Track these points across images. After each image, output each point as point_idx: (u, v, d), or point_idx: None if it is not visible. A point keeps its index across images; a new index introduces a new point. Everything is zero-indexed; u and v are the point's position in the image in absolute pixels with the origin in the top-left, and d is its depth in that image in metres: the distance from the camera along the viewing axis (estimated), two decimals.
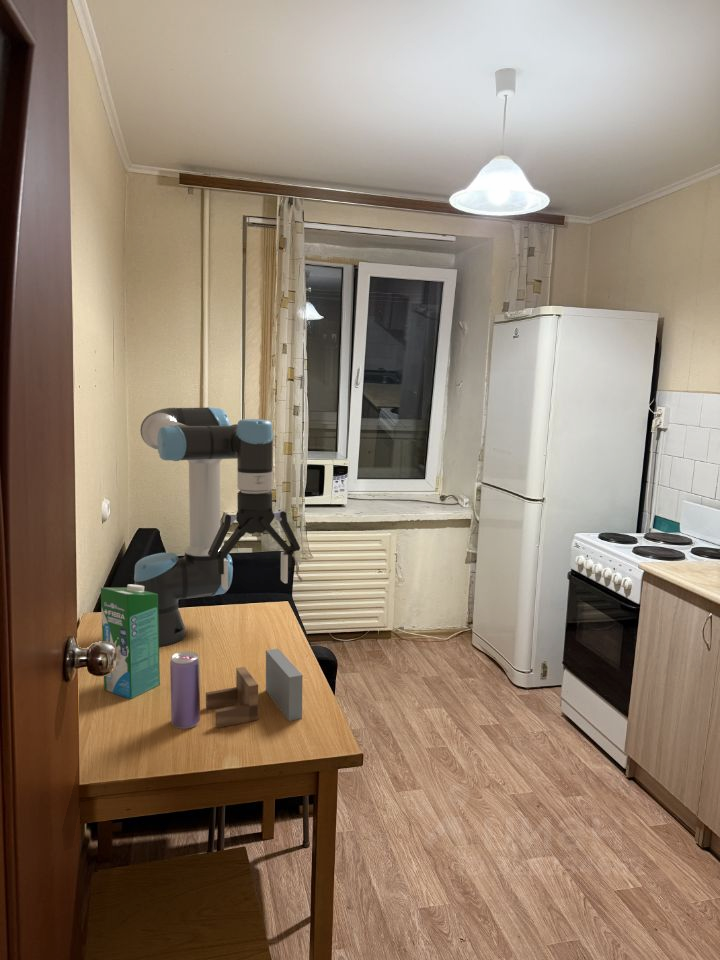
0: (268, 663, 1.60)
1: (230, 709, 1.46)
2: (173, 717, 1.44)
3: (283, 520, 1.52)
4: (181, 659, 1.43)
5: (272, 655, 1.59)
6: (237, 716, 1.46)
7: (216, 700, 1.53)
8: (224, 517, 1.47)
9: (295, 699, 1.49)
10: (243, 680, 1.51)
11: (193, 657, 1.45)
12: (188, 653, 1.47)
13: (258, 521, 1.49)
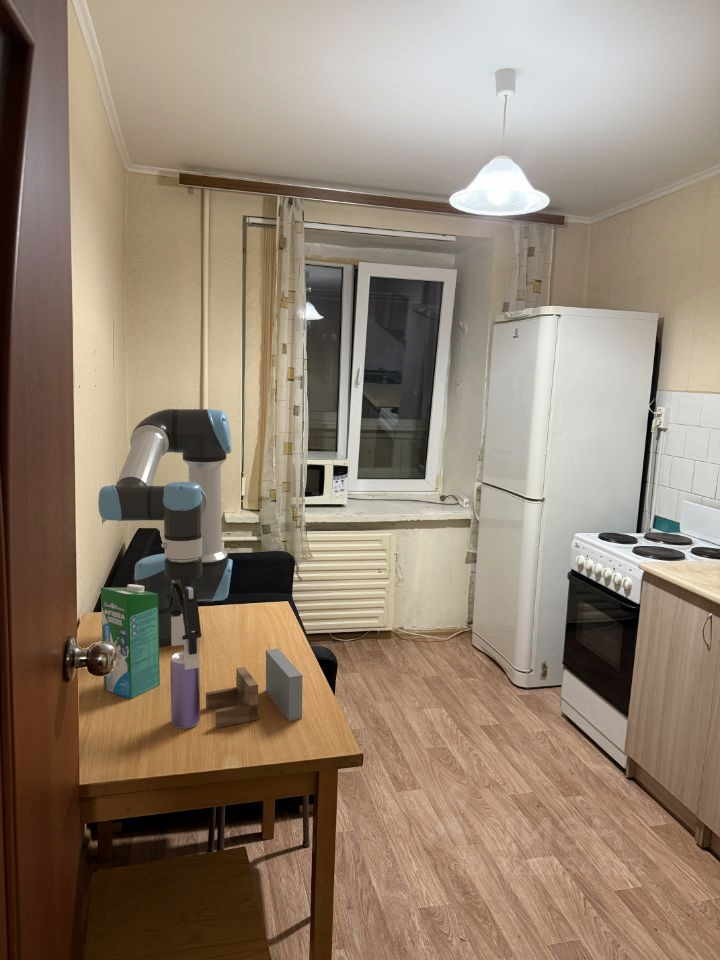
0: (268, 663, 1.60)
1: (230, 709, 1.46)
2: (173, 717, 1.44)
3: (184, 598, 1.36)
4: (181, 659, 1.43)
5: (272, 655, 1.59)
6: (237, 716, 1.46)
7: (216, 700, 1.53)
8: None
9: (295, 699, 1.49)
10: (243, 680, 1.51)
11: None
12: None
13: None
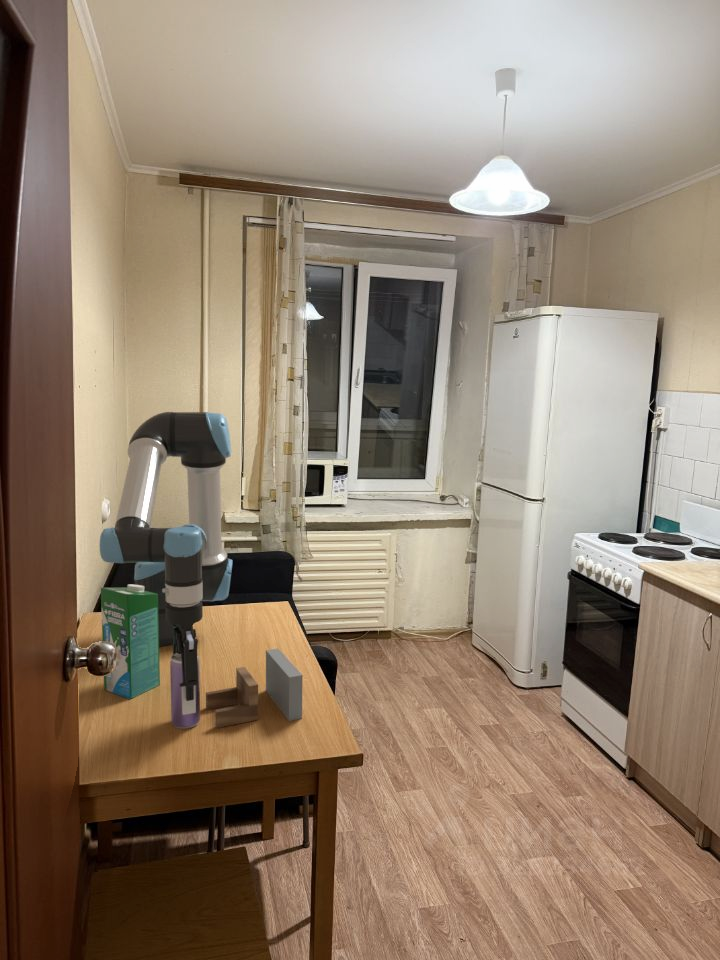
0: (268, 663, 1.60)
1: (230, 709, 1.46)
2: (173, 717, 1.44)
3: (184, 648, 1.39)
4: None
5: (272, 655, 1.59)
6: (237, 716, 1.46)
7: (216, 700, 1.53)
8: None
9: (295, 699, 1.49)
10: (243, 680, 1.51)
11: None
12: None
13: None
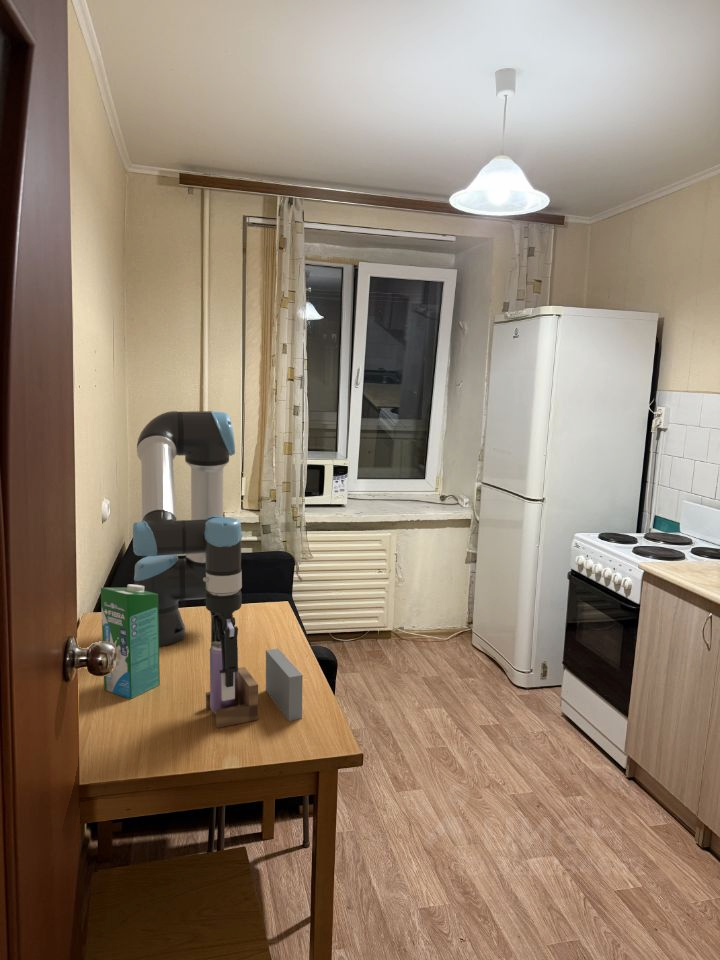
0: (268, 663, 1.60)
1: (230, 709, 1.46)
2: (212, 703, 1.48)
3: (224, 635, 1.42)
4: (220, 646, 1.47)
5: (272, 655, 1.59)
6: (237, 716, 1.46)
7: None
8: None
9: (295, 699, 1.49)
10: (243, 680, 1.51)
11: None
12: None
13: None
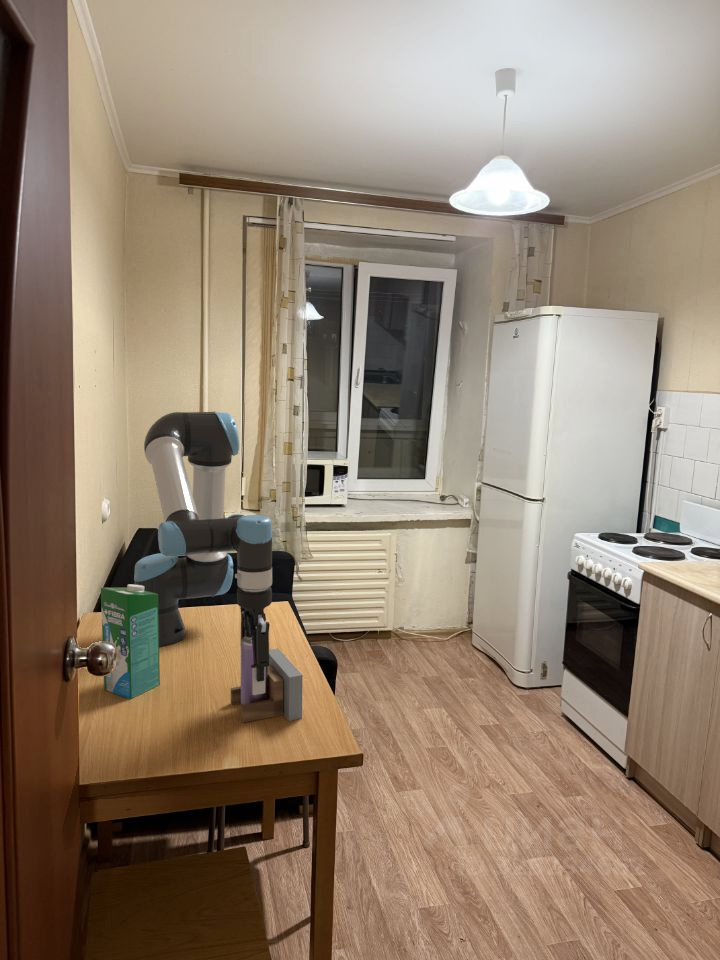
0: None
1: (256, 704, 1.48)
2: (243, 697, 1.51)
3: (256, 631, 1.45)
4: (251, 642, 1.50)
5: (272, 655, 1.59)
6: (262, 711, 1.49)
7: (240, 696, 1.56)
8: None
9: (295, 699, 1.49)
10: (268, 676, 1.53)
11: None
12: None
13: None
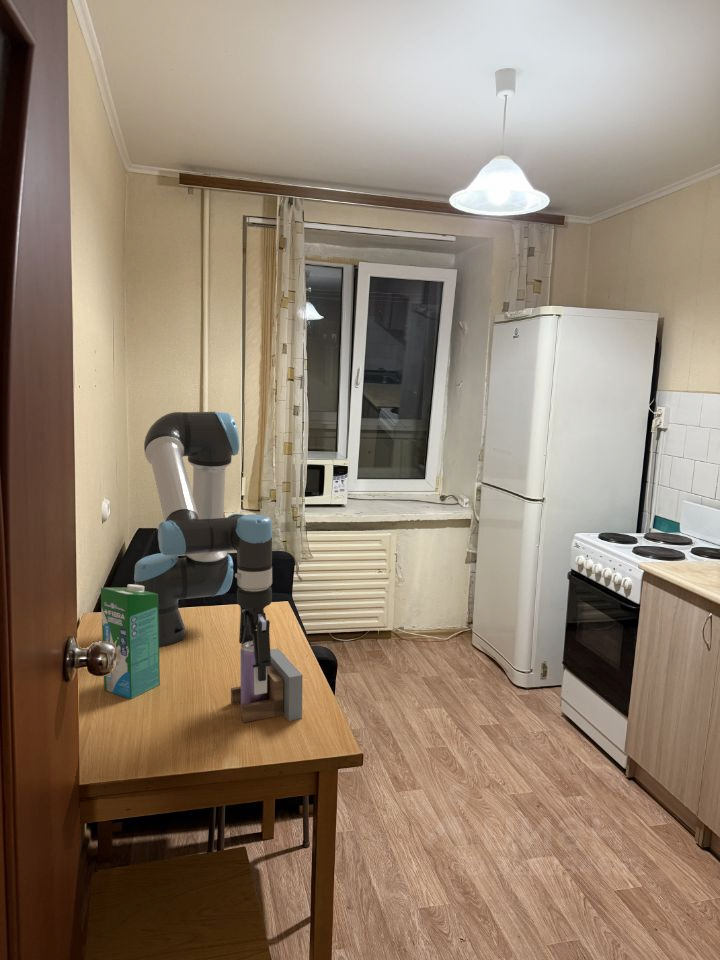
0: None
1: (256, 704, 1.48)
2: (243, 703, 1.51)
3: (257, 629, 1.45)
4: (251, 647, 1.50)
5: (272, 655, 1.59)
6: (263, 711, 1.49)
7: None
8: None
9: (295, 699, 1.49)
10: (268, 676, 1.53)
11: None
12: None
13: None
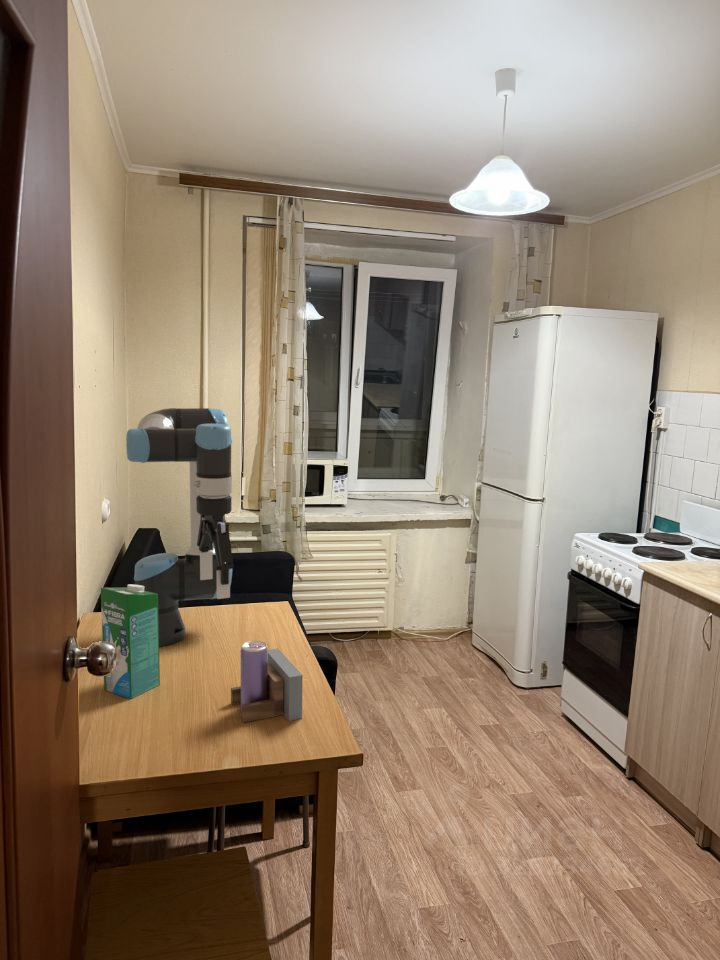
0: None
1: (256, 704, 1.48)
2: (243, 703, 1.51)
3: (216, 532, 1.45)
4: (251, 648, 1.50)
5: (272, 655, 1.59)
6: (263, 711, 1.49)
7: None
8: None
9: (295, 699, 1.49)
10: (268, 676, 1.53)
11: (262, 646, 1.51)
12: (256, 642, 1.53)
13: None
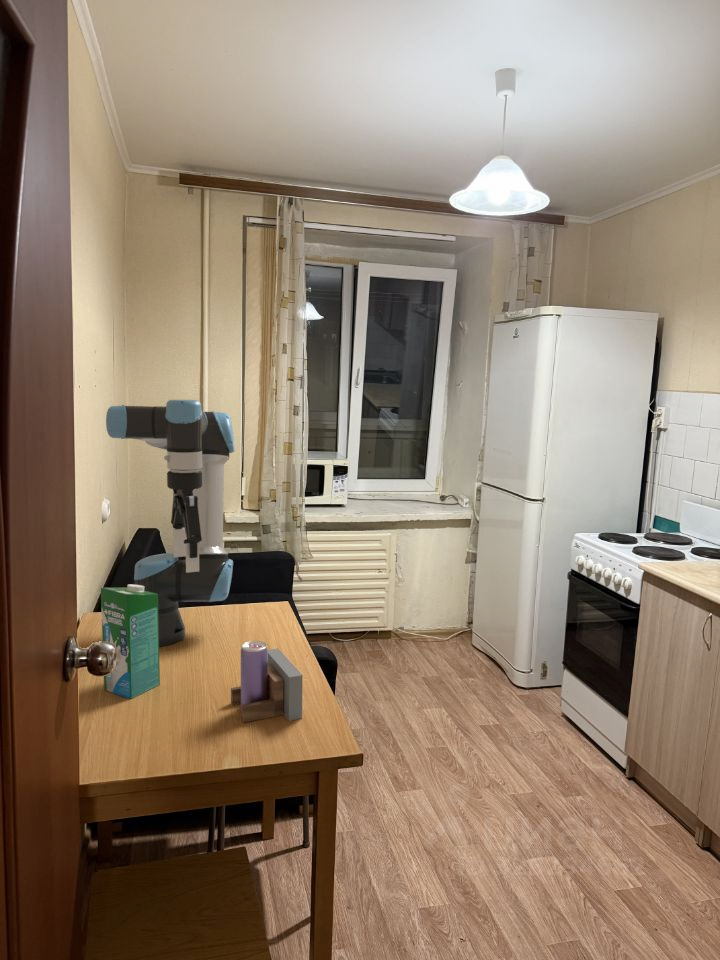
0: None
1: (256, 704, 1.48)
2: (243, 703, 1.51)
3: (185, 505, 1.46)
4: (251, 648, 1.50)
5: (272, 655, 1.59)
6: (263, 711, 1.49)
7: None
8: None
9: (295, 699, 1.49)
10: (268, 676, 1.53)
11: (262, 646, 1.51)
12: (256, 642, 1.53)
13: None
